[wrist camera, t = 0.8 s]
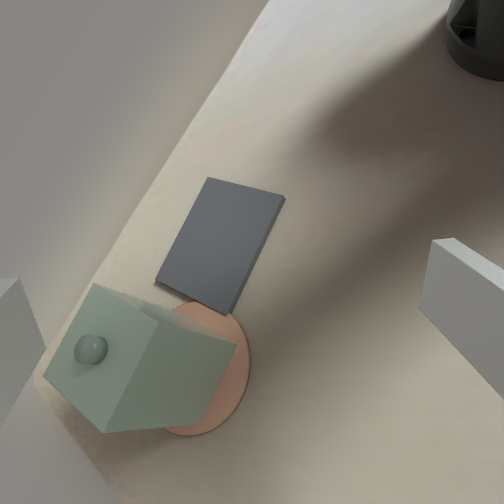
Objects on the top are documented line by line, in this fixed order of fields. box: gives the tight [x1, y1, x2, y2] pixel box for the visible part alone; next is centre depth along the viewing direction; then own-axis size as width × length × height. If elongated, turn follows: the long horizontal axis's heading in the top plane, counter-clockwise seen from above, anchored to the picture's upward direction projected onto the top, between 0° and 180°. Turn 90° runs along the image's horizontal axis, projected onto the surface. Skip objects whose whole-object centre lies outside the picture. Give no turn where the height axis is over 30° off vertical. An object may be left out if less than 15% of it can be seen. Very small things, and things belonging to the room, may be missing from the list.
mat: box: [155, 177, 285, 315], centre depth 41 cm, size 14×11×1 cm
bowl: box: [163, 301, 250, 436], centre depth 35 cm, size 13×13×4 cm
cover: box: [43, 283, 238, 434], centre depth 31 cm, size 8×8×13 cm
